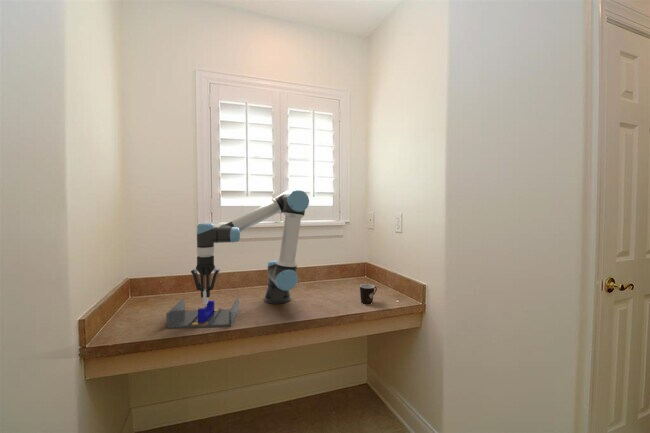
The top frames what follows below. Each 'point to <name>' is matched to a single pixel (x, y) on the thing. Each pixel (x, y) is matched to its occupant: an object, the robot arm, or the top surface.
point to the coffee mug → (367, 293)
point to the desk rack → (190, 317)
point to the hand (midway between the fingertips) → (205, 303)
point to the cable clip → (206, 312)
